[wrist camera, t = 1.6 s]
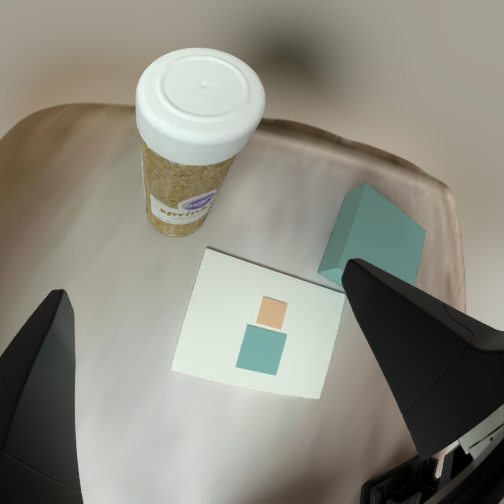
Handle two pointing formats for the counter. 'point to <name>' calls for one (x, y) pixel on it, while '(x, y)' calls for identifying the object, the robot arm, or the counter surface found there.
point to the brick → (373, 237)
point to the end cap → (404, 484)
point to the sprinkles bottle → (192, 131)
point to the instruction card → (258, 328)
